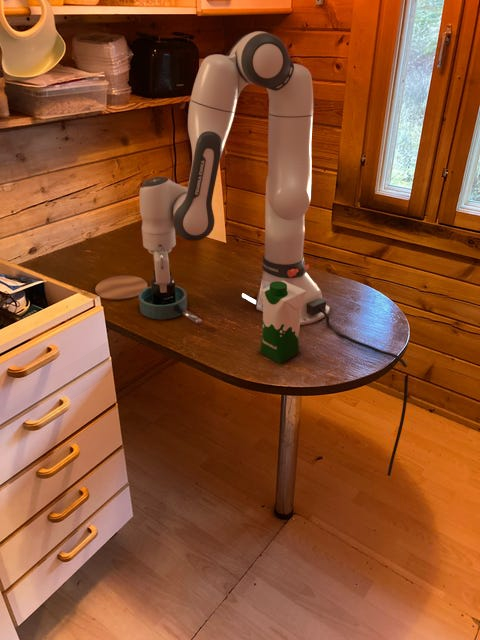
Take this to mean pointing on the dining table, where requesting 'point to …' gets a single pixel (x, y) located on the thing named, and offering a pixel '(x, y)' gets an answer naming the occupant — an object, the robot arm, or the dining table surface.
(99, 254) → the dining table surface
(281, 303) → the milk carton
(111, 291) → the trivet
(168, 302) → the supplement bottle
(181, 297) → the pan
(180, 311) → the pan handle
